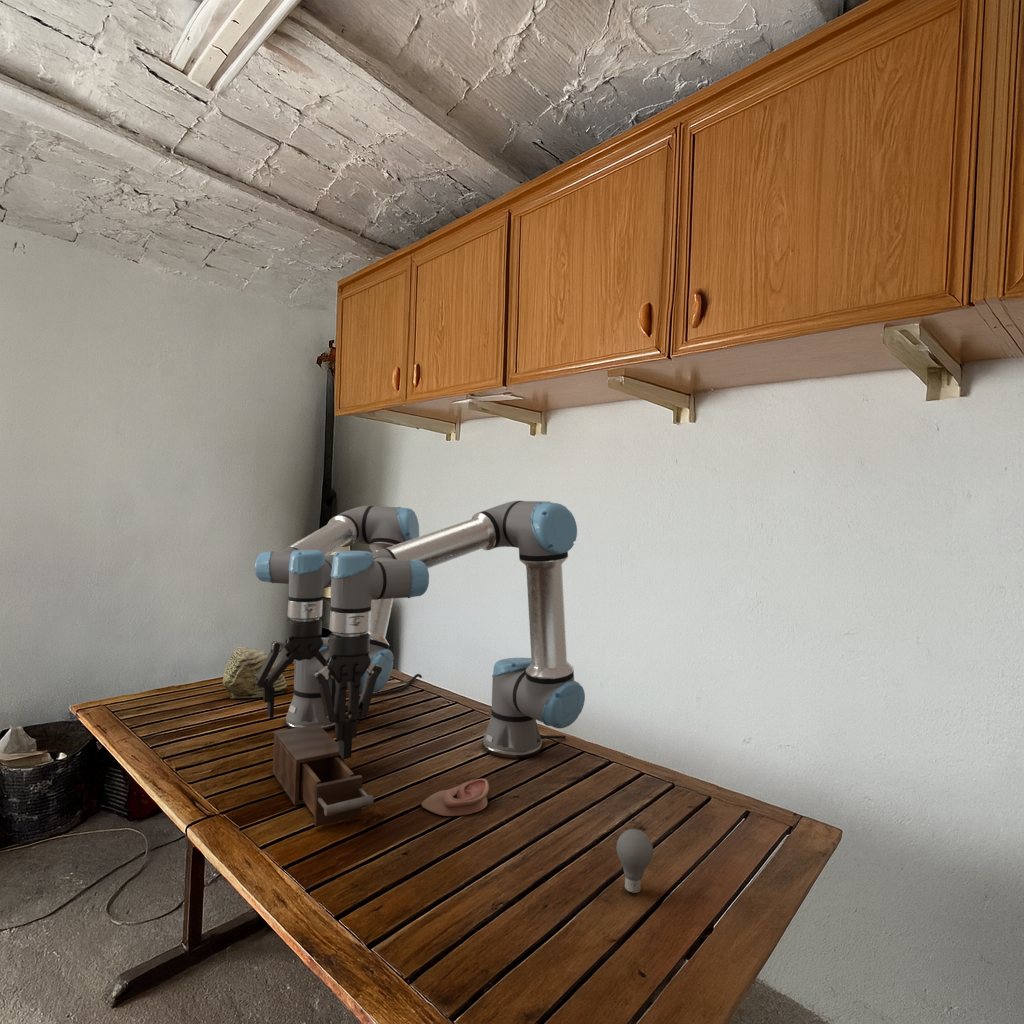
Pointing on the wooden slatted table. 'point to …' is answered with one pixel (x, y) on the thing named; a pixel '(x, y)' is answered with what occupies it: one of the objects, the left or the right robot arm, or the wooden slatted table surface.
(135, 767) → the wooden slatted table surface
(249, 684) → the fossil
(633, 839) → the light bulb
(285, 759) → the cabinet
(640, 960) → the wooden slatted table surface
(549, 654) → the right robot arm
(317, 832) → the wooden slatted table surface
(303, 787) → the drawer
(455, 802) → the anatomical model
